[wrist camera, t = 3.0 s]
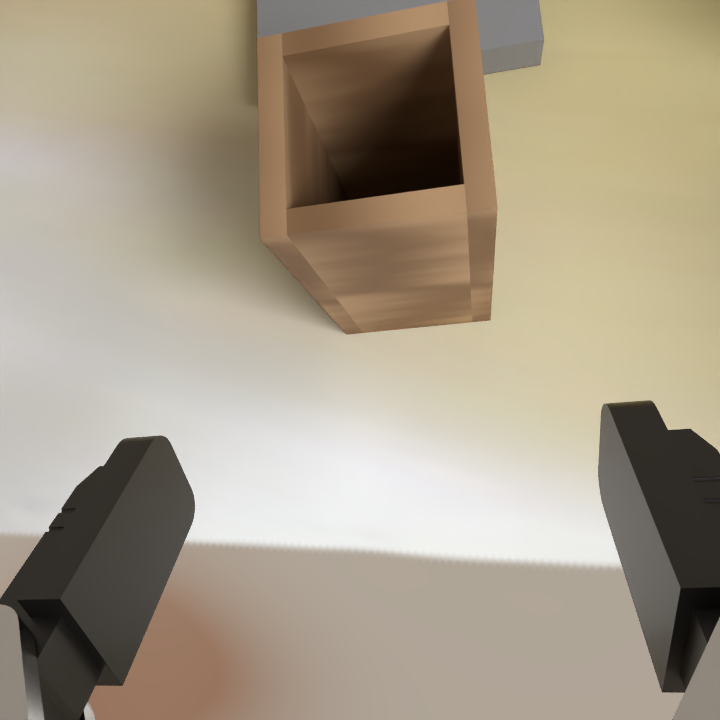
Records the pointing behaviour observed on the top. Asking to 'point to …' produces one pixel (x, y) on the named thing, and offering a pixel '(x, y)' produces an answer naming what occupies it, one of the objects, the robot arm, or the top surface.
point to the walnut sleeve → (380, 166)
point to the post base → (493, 5)
